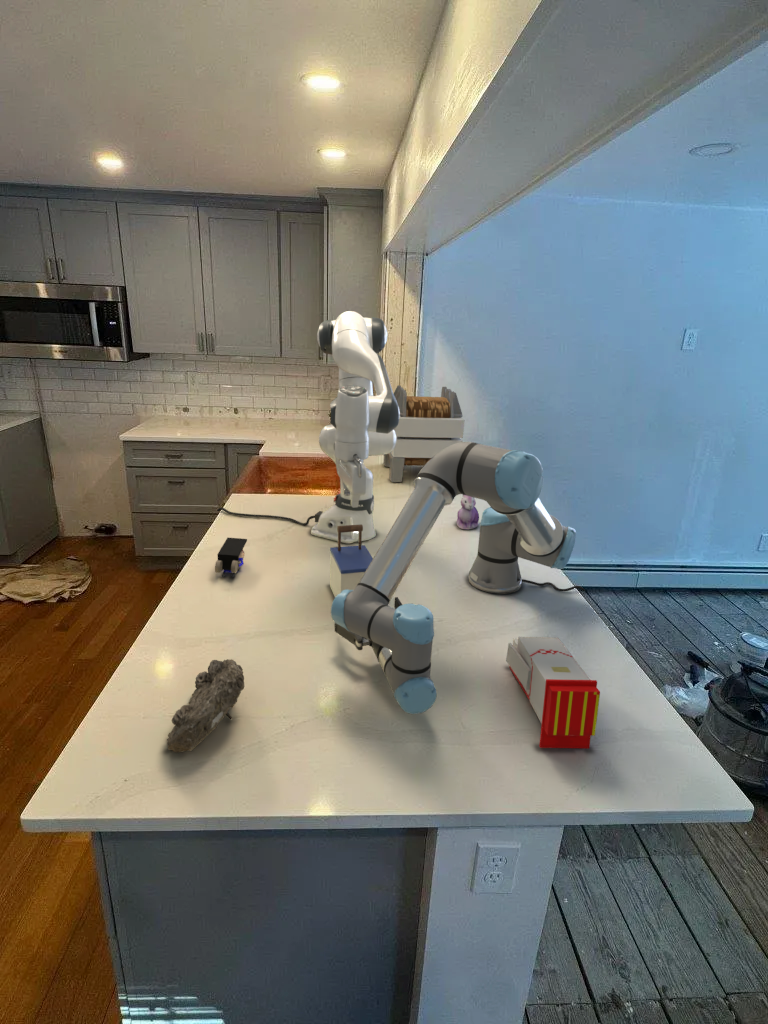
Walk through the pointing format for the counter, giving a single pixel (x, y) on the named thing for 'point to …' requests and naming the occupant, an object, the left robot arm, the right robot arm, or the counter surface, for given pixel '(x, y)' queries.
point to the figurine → (467, 513)
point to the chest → (342, 578)
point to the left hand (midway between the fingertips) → (350, 500)
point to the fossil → (206, 705)
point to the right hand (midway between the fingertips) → (369, 604)
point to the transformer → (423, 429)
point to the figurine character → (230, 556)
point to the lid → (351, 552)
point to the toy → (555, 691)
